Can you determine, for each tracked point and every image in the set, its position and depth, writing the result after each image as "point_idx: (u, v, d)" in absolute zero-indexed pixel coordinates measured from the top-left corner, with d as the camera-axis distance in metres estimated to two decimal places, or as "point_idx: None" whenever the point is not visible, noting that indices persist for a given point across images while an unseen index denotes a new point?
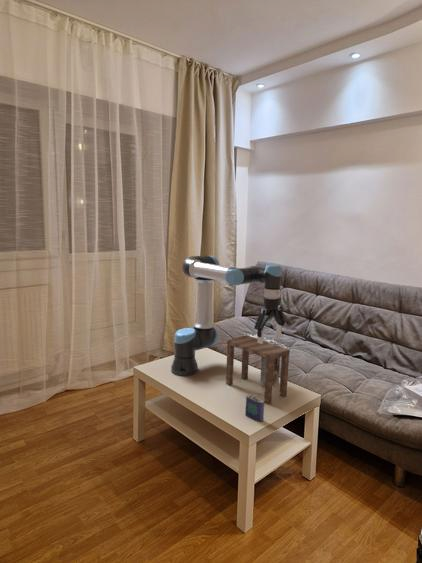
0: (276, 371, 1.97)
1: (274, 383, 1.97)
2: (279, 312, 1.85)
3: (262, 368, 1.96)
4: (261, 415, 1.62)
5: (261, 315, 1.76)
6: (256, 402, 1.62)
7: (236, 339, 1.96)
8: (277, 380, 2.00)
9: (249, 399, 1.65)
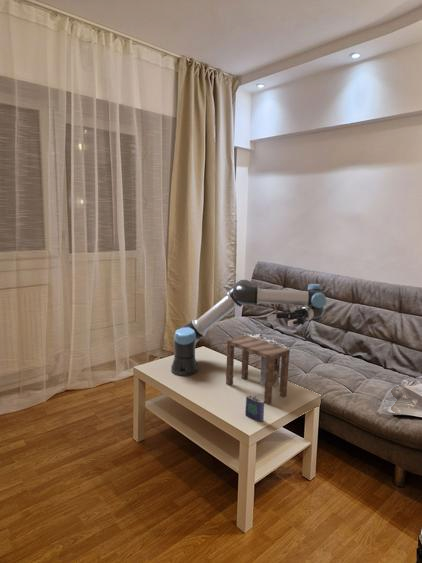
0: (276, 371, 1.97)
1: (274, 383, 1.97)
2: None
3: (262, 368, 1.96)
4: (261, 415, 1.62)
5: (305, 320, 1.97)
6: (256, 402, 1.62)
7: (236, 339, 1.96)
8: (277, 380, 2.00)
9: (249, 399, 1.65)
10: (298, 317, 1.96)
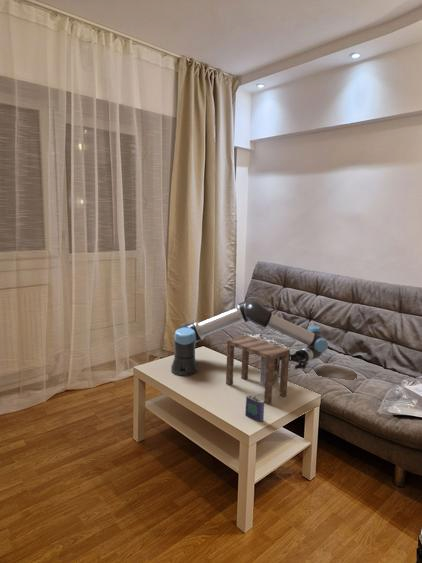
0: (276, 371, 1.97)
1: (274, 383, 1.97)
2: None
3: (262, 368, 1.96)
4: (261, 415, 1.62)
5: (306, 363, 2.07)
6: (256, 402, 1.62)
7: (236, 339, 1.96)
8: (277, 380, 2.00)
9: (249, 399, 1.65)
10: (299, 360, 2.06)
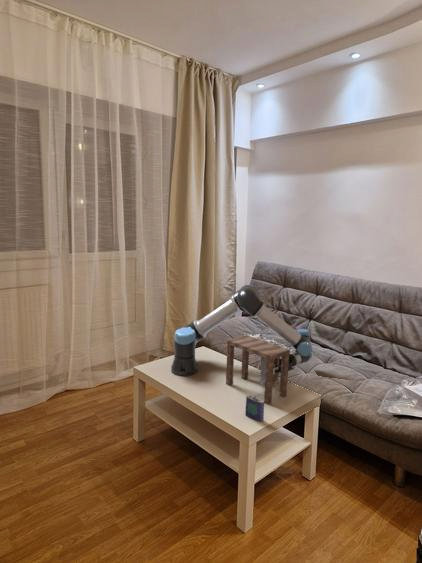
0: None
1: (274, 383, 1.97)
2: None
3: (262, 368, 1.96)
4: (261, 415, 1.62)
5: (290, 368, 1.99)
6: (256, 402, 1.62)
7: (236, 339, 1.96)
8: (277, 380, 2.00)
9: (249, 399, 1.65)
10: None
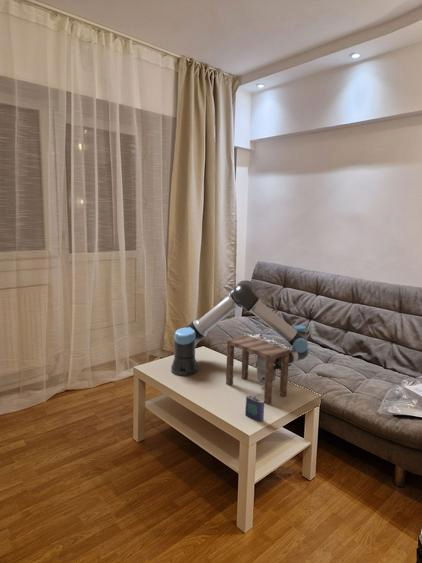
0: None
1: None
2: None
3: (258, 365, 1.93)
4: (261, 415, 1.62)
5: None
6: (256, 402, 1.62)
7: (236, 339, 1.96)
8: (274, 377, 1.97)
9: (249, 399, 1.65)
10: (279, 361, 1.97)
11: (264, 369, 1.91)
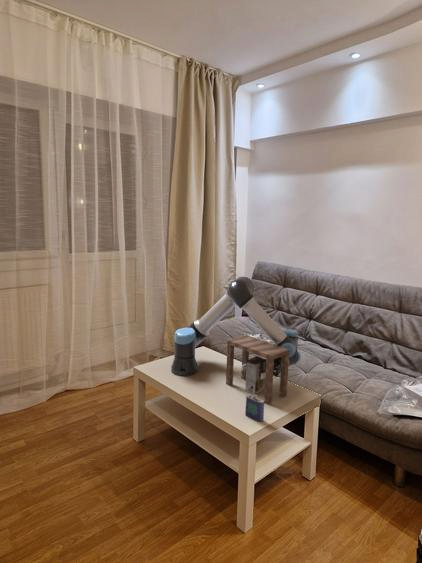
0: None
1: (260, 389, 1.90)
2: None
3: (247, 373, 1.89)
4: (261, 415, 1.62)
5: (280, 370, 1.92)
6: (256, 402, 1.62)
7: (236, 339, 1.96)
8: (263, 386, 1.92)
9: (249, 399, 1.65)
10: None
11: (252, 378, 1.87)
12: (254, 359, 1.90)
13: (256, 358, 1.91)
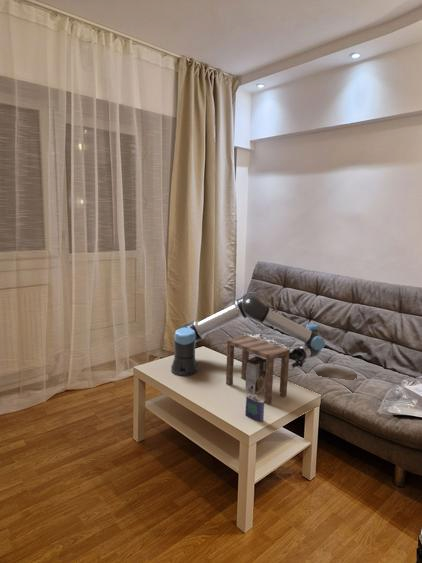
0: (262, 377, 1.90)
1: (260, 389, 1.90)
2: None
3: (247, 373, 1.89)
4: (261, 415, 1.62)
5: (303, 361, 2.05)
6: (256, 402, 1.62)
7: (236, 339, 1.96)
8: (263, 386, 1.92)
9: (249, 399, 1.65)
10: (297, 359, 2.04)
11: (252, 378, 1.87)
12: (254, 359, 1.90)
13: (256, 358, 1.91)
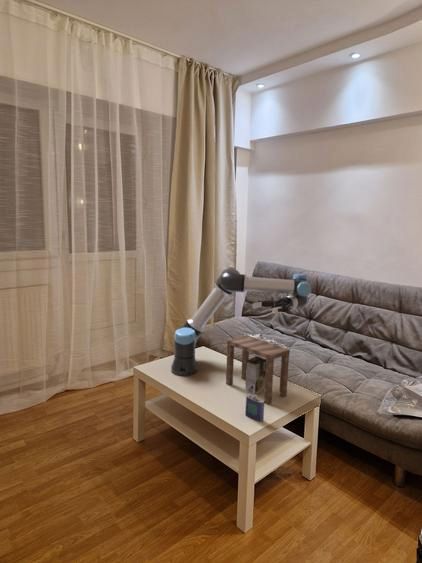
0: (262, 377, 1.90)
1: (260, 389, 1.90)
2: None
3: (247, 373, 1.89)
4: (261, 415, 1.62)
5: (290, 308, 2.00)
6: (256, 402, 1.62)
7: (236, 339, 1.96)
8: (263, 386, 1.92)
9: (249, 399, 1.65)
10: (283, 305, 1.99)
11: (253, 378, 1.87)
12: (254, 359, 1.90)
13: (256, 358, 1.91)
